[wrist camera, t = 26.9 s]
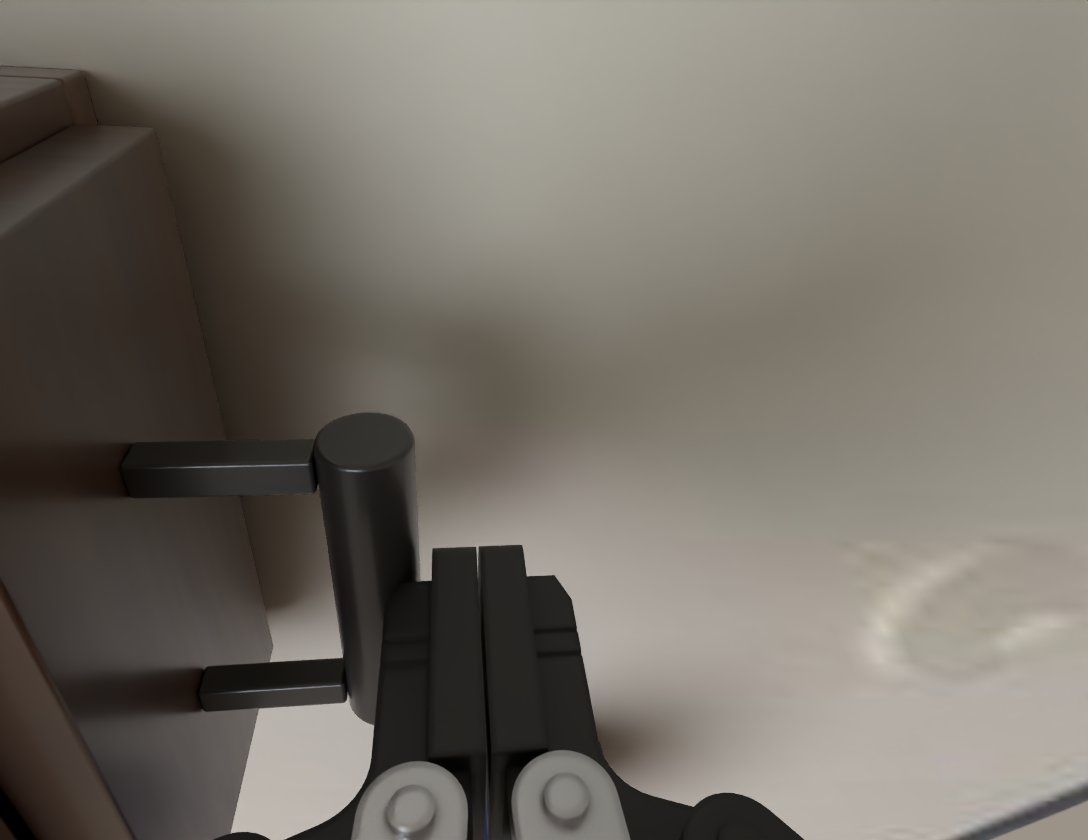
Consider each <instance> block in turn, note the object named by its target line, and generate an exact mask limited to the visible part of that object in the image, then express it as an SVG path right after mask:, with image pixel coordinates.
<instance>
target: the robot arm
mask: <svg viewBox="0 0 1088 840" xmlns="http://www.w3.org/2000/svg"><path fill="white" fill-rule="evenodd" d="M485 794H486V810H487V831H488V840H804V839H803V838H802V837H800V836H799V835H798V834H797V833H796V832H795V831H793V830H792V829H791V828H790V827H789V826H787V825H786V824H785V823H784V822H783V821H782V820H780V819H779V818H778V817H777V816H776V815H775V814H773V813H772V812H771V811H770V810H769V809H767V808H766V807H765V806H763V805H762V804H760V803H759V802H757V801H755V800H753V799H751V798H749V797H746V796H743V795H739V794H734V793H719V794H714V795H711V796H708V797H706V798H705V799H703V800H701V801H700V802H699V803H698V804H697V805H696V806H695V807H692V806H688V805H684V804H680V803H677V802H673V801H669V800H665V799H662V798H658V797H654V796H651V795H648V794H645V793H642V792H640V791H638V790H636V789H634V788H633V787H631V786H630V785H628V784H627V783H625V782H624V781H623V780H622V779H621V778H620V777H618V776H617V775H616V773H615V772H614V771H613V770H612V769H611V768H610V766H609V765H608V763H607V761H606V760H605V758H604V756H603V754H602V751H601V749H600V745H599V741H598V737H597V731H596V726H595V721H594V716H593V710H592V705H591V700H590V694H589V689H588V684H587V679H586V673H585V668H584V663H583V658H582V656H581V647H580V642H579V637H578V632H577V626H576V621H575V615H574V610H573V605H572V600H571V598H570V596H569V595H568V594H567V592H566V591H565V589H564V588H563V587H562V585H561V584H560V583H559V581H558V580H557V578H556V577H555V576H554V575H551V576H528V577H527V576H526V568H525V560H524V552H523V547H522V545H504V546H479V554H478V572H477V553H476V547H457V548H433V550H432V581H418V582H400V583H399V585H398V587H397V588H396V590H395V592H394V593H393V595H392V597H391V599H390V600H389V602H388V604H387V605H386V607H385V611H384V622H383V634H382V645H381V656H380V668H379V679H378V691H377V702H376V713H375V725H374V736H373V748H372V758H371V764H370V769H369V772H368V775H367V778H366V780H365V782H364V784H363V786H362V788H361V789H360V791H359V792H358V794H357V795H356V796H355V798H354V799H353V800H352V801H351V802H350V803H349V804H348V805H347V806H346V807H345V808H344V809H343V810H342V811H341V812H339V813H338V814H337V815H335V816H334V817H332V818H331V819H329V820H328V821H326V822H324V823H322V824H320V825H318V826H315V827H313V828H311V829H308V830H306V831H304V832H301V833H299V834H297V835H294V836H292V837H290V838H287V839H285V840H484V827H485ZM213 840H270V839H268V838H267V837H265V836H262V835H259V834H256V833H250V832H236V833H232V834H227V835H224V836H221V837H218V838H215V839H213Z"/></svg>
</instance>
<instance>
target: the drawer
mask: <svg viewBox="0 0 1088 840" xmlns="http://www.w3.org/2000/svg"><path fill="white" fill-rule="evenodd" d="M317 485H319V492H320V499H321V506H322V513H323V520H324V527H325V534H326V541H327V548H328V555H329V562H330V569H331V576H332V583H333V590H334V597H335V604H336V611H337V618H338V625H339V632H340V639H341V646H342V653H343V658H335V659H318V660H301V661H284V662H270V658H271V654H272V649H273V643H272V638H271V634H270V630H269V625H268V621H267V616H266V612H265V608H264V603H263V599H262V595H261V590H260V586H259V581H258V577H257V573H256V568H255V564H254V559H253V555H252V551H251V546H250V542H249V538H248V533H247V529H246V524H245V520H244V516H243V511H242V507H241V502H240V498H239V496H260V495H297V494H314V493H315V492H316V490H317ZM418 581H420V559H419V535H418V512H417V488H416V465H415V441H414V435H413V433H412V431H411V430H410V428H409V427H408V425H407V424H405V423H404V422H403V421H401V420H400V419H398V418H396V417H393V416H391V415H387V414H382V413H371V412H366V413H356V414H350V415H346V416H343V417H340V418H338V419H335V420H333V421H332V422H330V423H328V424H327V425H325V426H324V427H323V428H322V429H321V430H320V431H319V432H318V434H317V436H316V438H315V439H283V440H226V437H225V432H224V428H223V424H222V419H221V415H220V410H219V406H218V402H217V397H216V393H215V388H214V384H213V380H212V375H211V371H210V367H209V362H208V358H207V353H206V349H205V345H204V340H203V336H202V331H201V327H200V323H199V318H198V314H197V310H196V305H195V301H194V296H193V292H192V288H191V283H190V279H189V274H188V270H187V266H186V261H185V257H184V253H183V248H182V244H181V239H180V235H179V231H178V226H177V222H176V217H175V213H174V209H173V204H172V200H171V196H170V191H169V187H168V182H167V178H166V174H165V169H164V165H163V160H162V156H161V152H160V147H159V143H158V139H157V134H156V131H155V129H153V128H150V127H128V126H104V125H80V124H75V125H72V126H70V127H68V128H67V129H65V130H63V131H61V132H59V133H57V134H55V135H54V136H52V137H50V138H48V139H46V140H44V141H42V142H41V143H39V144H37V145H35V146H33V147H31V148H30V149H28V150H26V151H24V152H22V153H20V154H18V155H17V156H15V157H13V158H11V159H9V160H7V161H5V162H4V163H2V164H0V815H1V816H2V818H3V819H4V821H5V822H6V823H7V825H8V826H9V828H10V829H11V830H12V832H13V833H14V835H15V836H16V837H17V839H18V840H213V839H215V838H218V837H221V836H224V835H227V834H230V833H231V828H232V824H233V820H234V815H235V811H236V806H237V802H238V798H239V793H240V789H241V785H242V780H243V776H244V772H245V767H246V763H247V758H248V754H249V750H250V745H251V741H252V737H253V732H254V728H255V723H256V719H257V715H258V710H259V709H260V708H275V707H289V706H304V705H319V704H334V703H344V702H346V700H347V695H348V694H349V701H350V705H351V708H352V710H353V711H354V713H355V714H356V715H357V716H358V717H359V718H360V719H362V720H363V721H365V722H367V723H369V724H372V725H375V713H376V702H377V691H378V679H379V668H380V656H381V645H382V634H383V622H384V611H385V607H386V605H387V604H388V602H389V600H390V599H391V597H392V595H393V593H394V592H395V590H396V588H397V587H398V585H399V583H400V582H418Z"/></svg>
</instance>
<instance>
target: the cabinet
mask: <svg viewBox="0 0 1088 840" xmlns="http://www.w3.org/2000/svg"><path fill="white" fill-rule="evenodd" d="M75 124H80V125H97V121H96V117H95V114H94V110H93V106H92V103H91V99H90V95H89V92H88V88H87V84H86V81H85V77H84V74H83V72H81V71H79V70H65V69H45V68H26V67H7V66H0V164H2V163H4V162H5V161H7V160H9V159H11V158H13V157H15V156H17V155H18V154H20V153H22V152H24V151H26V150H28V149H30V148H31V147H33V146H35V145H37V144H39V143H41V142H42V141H44V140H46V139H48V138H50V137H52V136H54V135H55V134H57V133H59V132H61V131H63V130H65V129H67V128H68V127H70V126H72V125H75ZM0 840H18V839H17V837H16V836H15V835H14V833H13V832H12V830H11V829H10V828H9V826H8V825H7V823H6V822H5V821H4V819H3V818H2V816H1V815H0Z"/></svg>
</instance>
